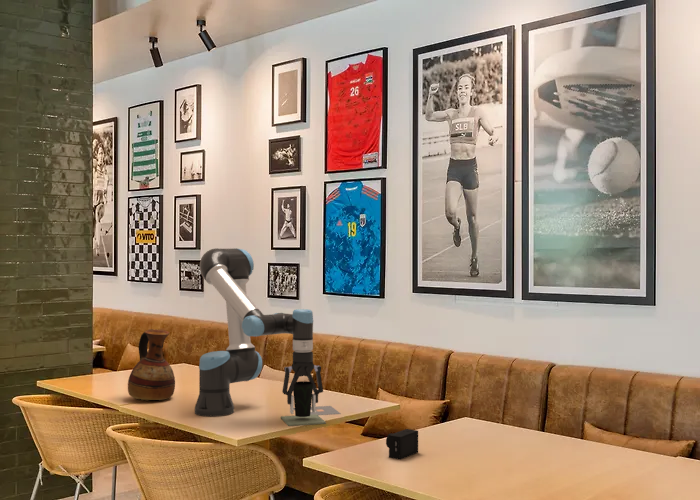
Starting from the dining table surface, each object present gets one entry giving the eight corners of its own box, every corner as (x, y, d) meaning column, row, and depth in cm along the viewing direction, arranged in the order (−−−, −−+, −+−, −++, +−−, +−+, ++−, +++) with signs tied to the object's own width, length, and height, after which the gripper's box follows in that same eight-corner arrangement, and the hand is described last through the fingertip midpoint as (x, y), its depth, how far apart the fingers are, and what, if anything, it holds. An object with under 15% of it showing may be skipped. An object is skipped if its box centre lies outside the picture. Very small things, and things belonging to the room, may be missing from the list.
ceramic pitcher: (147, 405, 307) (147, 332, 307) (117, 400, 319) (117, 329, 319) (184, 398, 322) (184, 329, 322) (154, 393, 334) (155, 326, 335)
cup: (288, 416, 277) (288, 383, 277) (299, 412, 284) (299, 380, 284) (306, 418, 274) (306, 385, 274) (316, 414, 280) (316, 382, 280)
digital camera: (403, 450, 237) (403, 427, 237) (418, 452, 234) (418, 430, 234) (385, 457, 229) (385, 434, 229) (400, 460, 226) (400, 436, 226)
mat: (288, 426, 270) (288, 424, 270) (280, 418, 283) (280, 416, 283) (325, 423, 274) (325, 422, 274) (316, 415, 287) (316, 414, 287)
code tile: (300, 418, 287) (300, 416, 287) (292, 410, 302) (292, 407, 302) (341, 416, 291) (341, 413, 291) (330, 408, 307) (330, 405, 307)
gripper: (277, 353, 272) (277, 416, 272) (332, 351, 278) (332, 412, 278) (273, 350, 280) (273, 411, 280) (327, 348, 285) (326, 408, 285)
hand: (302, 412), depth 279 cm, fingers closed on cup, 8 cm apart
